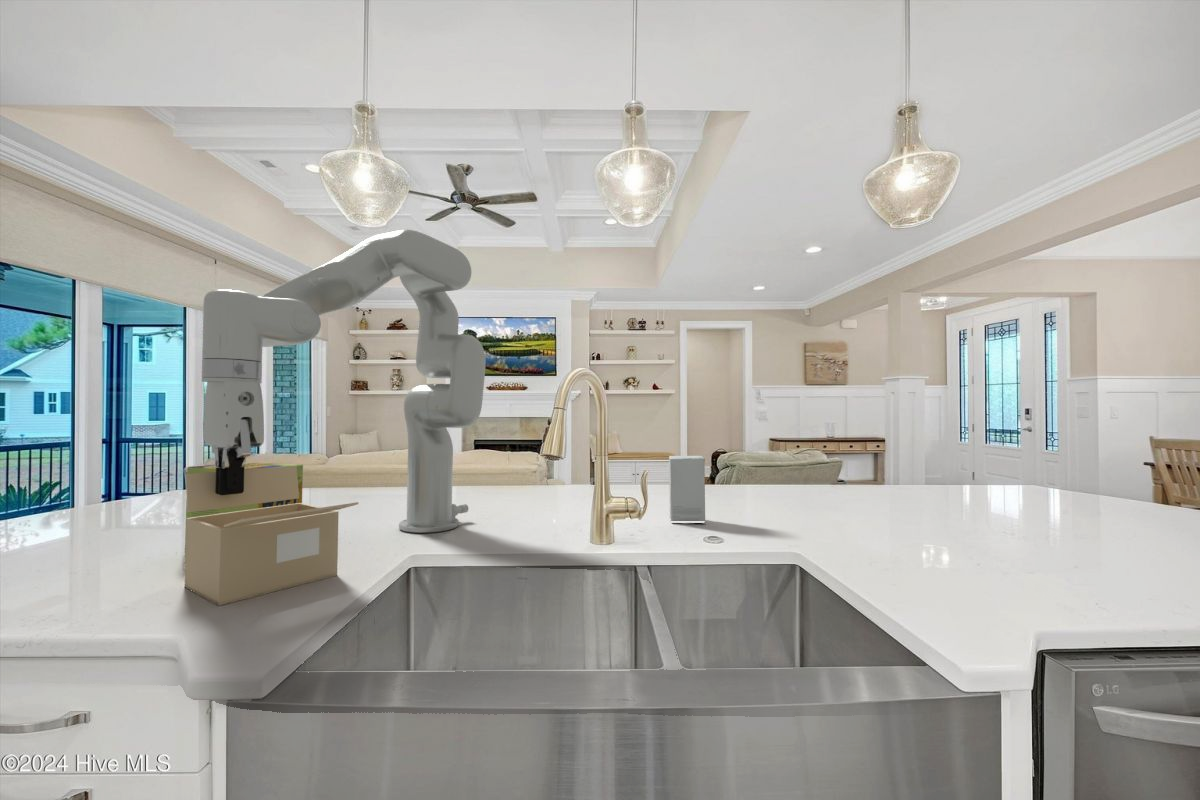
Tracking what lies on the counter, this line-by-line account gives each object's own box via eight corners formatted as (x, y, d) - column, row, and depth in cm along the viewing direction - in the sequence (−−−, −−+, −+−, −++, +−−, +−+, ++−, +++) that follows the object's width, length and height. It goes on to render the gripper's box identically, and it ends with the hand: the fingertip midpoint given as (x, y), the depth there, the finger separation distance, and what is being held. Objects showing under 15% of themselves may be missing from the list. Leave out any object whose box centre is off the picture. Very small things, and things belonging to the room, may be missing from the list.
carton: (299, 561, 90) (300, 502, 90) (337, 575, 83) (338, 511, 83) (184, 587, 77) (186, 518, 77) (219, 606, 70) (220, 529, 70)
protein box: (257, 561, 90) (259, 469, 90) (183, 554, 93) (185, 466, 94) (303, 545, 100) (305, 463, 101) (235, 540, 104) (237, 461, 104)
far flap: (299, 498, 90) (298, 498, 90) (296, 465, 91) (295, 465, 91) (188, 512, 77) (187, 512, 77) (186, 474, 78) (185, 474, 78)
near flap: (358, 502, 80) (358, 504, 80) (338, 507, 83) (338, 509, 83) (241, 519, 67) (242, 521, 67) (223, 525, 70) (223, 527, 70)
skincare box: (702, 519, 129) (703, 455, 129) (705, 525, 122) (706, 458, 123) (668, 518, 130) (668, 454, 130) (669, 524, 123) (670, 457, 123)
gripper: (282, 373, 79) (279, 495, 79) (238, 375, 88) (235, 486, 88) (225, 370, 73) (222, 502, 73) (183, 372, 82) (180, 492, 81)
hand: (229, 493), depth 80 cm, fingers closed
